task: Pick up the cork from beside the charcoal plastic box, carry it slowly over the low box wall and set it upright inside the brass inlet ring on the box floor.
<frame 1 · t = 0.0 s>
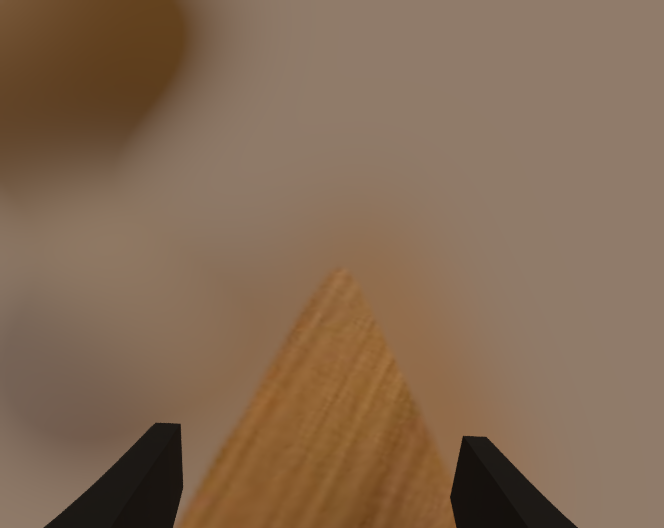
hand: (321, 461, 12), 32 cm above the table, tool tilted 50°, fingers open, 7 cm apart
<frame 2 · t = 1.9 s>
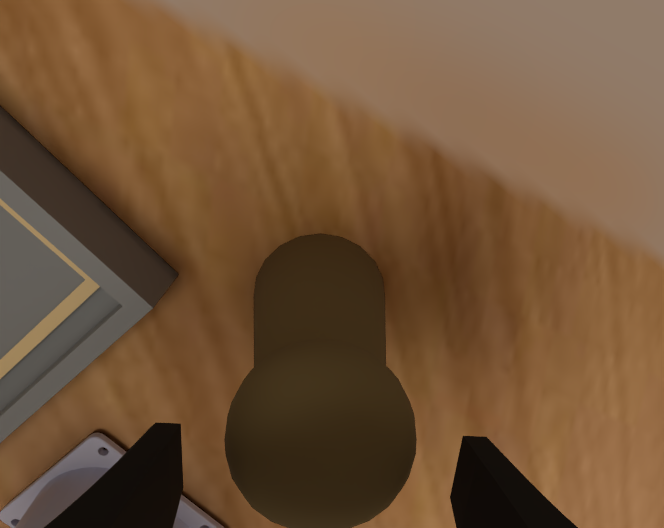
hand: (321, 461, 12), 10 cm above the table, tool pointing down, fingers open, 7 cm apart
cork: (319, 295, 22), on the table
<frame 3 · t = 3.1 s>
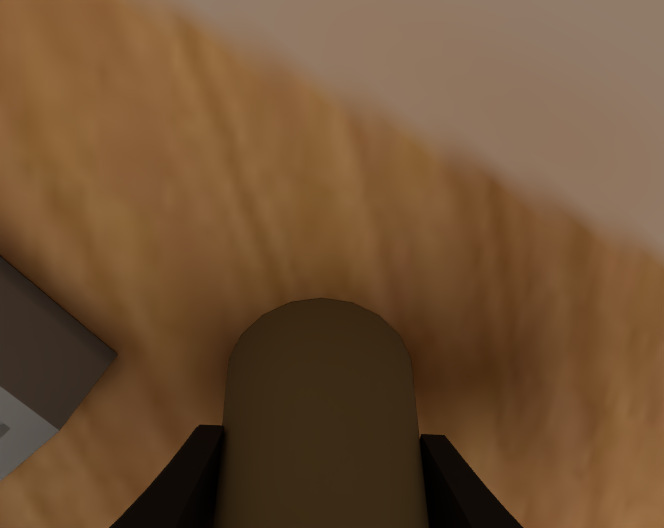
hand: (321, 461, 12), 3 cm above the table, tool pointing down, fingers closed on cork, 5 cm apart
cork: (320, 380, 15), on the table, touching gripper
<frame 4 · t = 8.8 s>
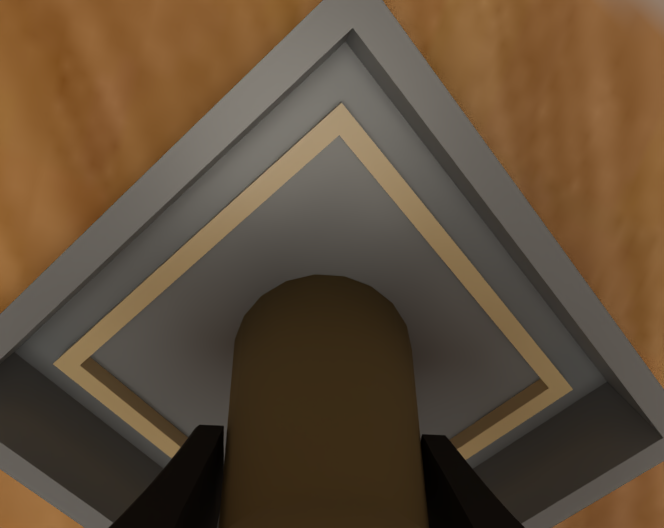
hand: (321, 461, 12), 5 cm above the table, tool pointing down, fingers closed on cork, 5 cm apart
cork: (323, 353, 16), resting on walled box, touching gripper
walled box: (320, 357, 17), on the table
when the fingers open (5 cm above the table, at t = 9.4 s): cork stays where it is, resting on walled box.
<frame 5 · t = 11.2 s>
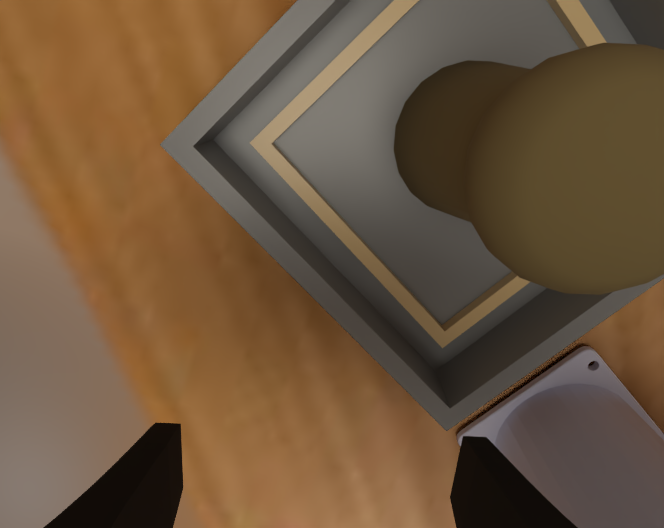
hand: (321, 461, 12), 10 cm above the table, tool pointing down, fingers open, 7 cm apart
cork: (467, 141, 19), resting on walled box
walled box: (461, 150, 20), on the table
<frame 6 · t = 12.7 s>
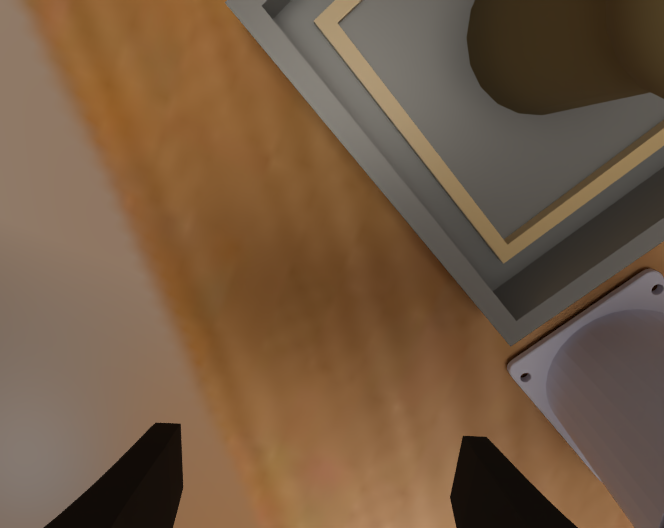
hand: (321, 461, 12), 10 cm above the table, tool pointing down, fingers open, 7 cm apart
cork: (545, 31, 18), resting on walled box
walled box: (536, 44, 18), on the table
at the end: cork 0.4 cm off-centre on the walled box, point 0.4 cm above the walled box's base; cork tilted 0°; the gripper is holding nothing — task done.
